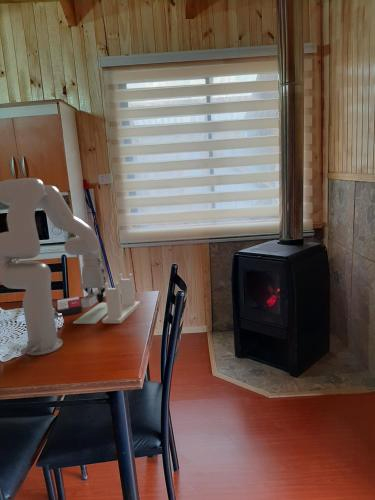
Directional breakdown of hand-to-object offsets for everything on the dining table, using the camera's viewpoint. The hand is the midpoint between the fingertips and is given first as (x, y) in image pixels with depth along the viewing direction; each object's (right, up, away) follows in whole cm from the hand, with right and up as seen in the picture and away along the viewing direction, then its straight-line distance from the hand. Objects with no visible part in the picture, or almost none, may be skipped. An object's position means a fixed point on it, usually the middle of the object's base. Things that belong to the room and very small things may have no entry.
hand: (97, 301), depth 163 cm
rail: (0, +1, 0) cm, 1 cm away
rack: (+12, -5, -2) cm, 13 cm away
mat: (0, -5, +1) cm, 5 cm away
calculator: (-15, -5, +9) cm, 19 cm away
